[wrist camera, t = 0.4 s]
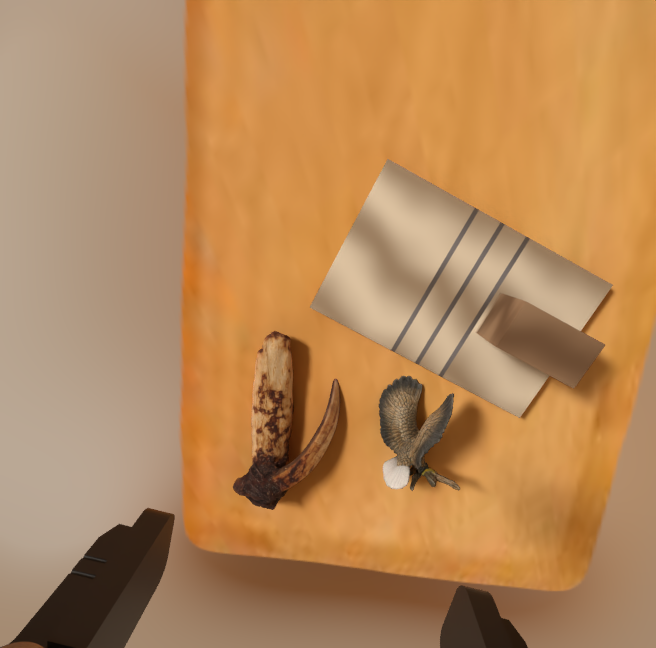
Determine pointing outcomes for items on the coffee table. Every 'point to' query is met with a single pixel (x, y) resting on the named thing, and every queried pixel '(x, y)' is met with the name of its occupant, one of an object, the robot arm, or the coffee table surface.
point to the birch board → (448, 285)
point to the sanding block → (539, 339)
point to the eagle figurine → (410, 434)
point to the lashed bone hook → (280, 427)
